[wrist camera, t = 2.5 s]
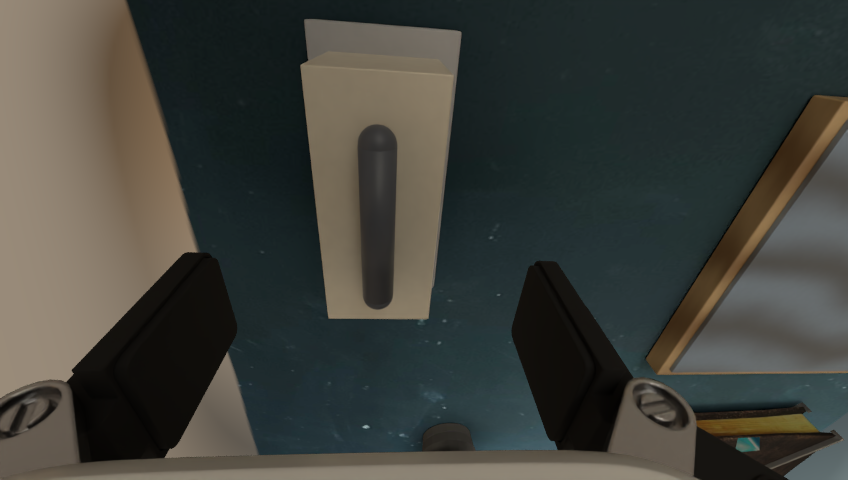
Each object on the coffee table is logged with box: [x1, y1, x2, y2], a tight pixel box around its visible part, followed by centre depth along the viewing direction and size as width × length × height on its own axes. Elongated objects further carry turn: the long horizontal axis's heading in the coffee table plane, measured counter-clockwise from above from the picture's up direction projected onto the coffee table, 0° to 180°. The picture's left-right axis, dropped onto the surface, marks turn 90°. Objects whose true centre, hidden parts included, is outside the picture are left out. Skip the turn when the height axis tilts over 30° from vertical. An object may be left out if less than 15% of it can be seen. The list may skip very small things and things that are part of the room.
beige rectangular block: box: [300, 19, 461, 319], centre depth 15 cm, size 13×6×7 cm, turn 176°
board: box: [646, 95, 848, 375], centre depth 22 cm, size 20×18×2 cm
